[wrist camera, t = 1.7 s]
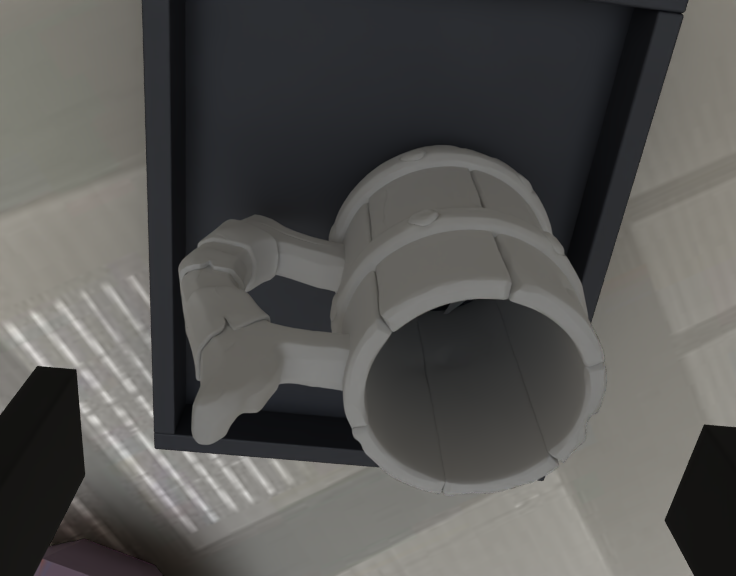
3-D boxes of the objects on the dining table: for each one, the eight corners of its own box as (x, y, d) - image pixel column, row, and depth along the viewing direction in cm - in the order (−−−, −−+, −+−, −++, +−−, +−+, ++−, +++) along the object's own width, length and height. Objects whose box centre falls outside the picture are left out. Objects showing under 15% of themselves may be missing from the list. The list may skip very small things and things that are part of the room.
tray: (163, -87, 21) (139, -89, 19) (659, -21, 22) (694, -16, 20) (170, 408, 29) (154, 449, 27) (529, 440, 30) (544, 481, 28)
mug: (513, 340, 27) (611, 601, 17) (211, 302, 26) (109, 550, 16) (566, 152, 24) (735, 327, 13) (222, 101, 23) (102, 243, 12)
